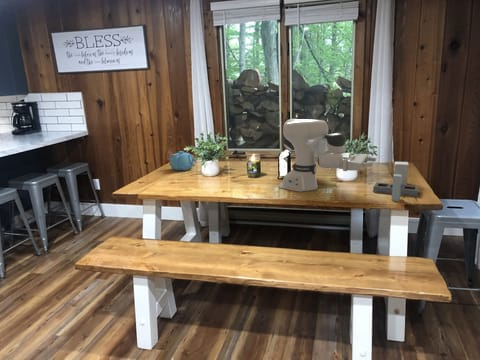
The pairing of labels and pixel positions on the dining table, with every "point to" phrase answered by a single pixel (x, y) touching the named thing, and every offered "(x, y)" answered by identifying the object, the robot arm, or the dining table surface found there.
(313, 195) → the dining table surface
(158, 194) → the dining table surface
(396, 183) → the clip
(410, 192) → the compartment tray
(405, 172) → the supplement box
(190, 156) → the decorative pot
